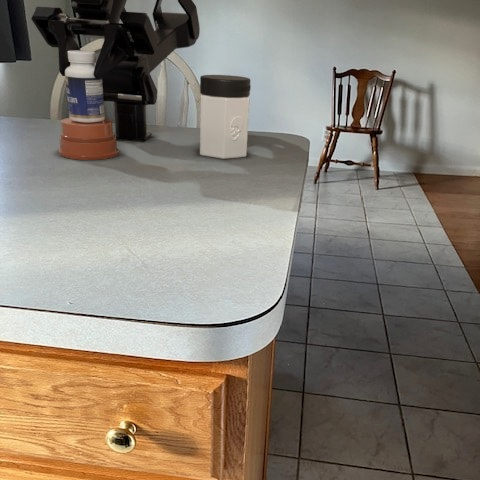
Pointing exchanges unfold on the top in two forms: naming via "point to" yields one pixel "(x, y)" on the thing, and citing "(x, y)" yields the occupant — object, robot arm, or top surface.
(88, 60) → the pill bottle
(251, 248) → the top surface
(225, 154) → the jar
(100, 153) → the cup stack
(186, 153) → the top surface
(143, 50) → the robot arm
